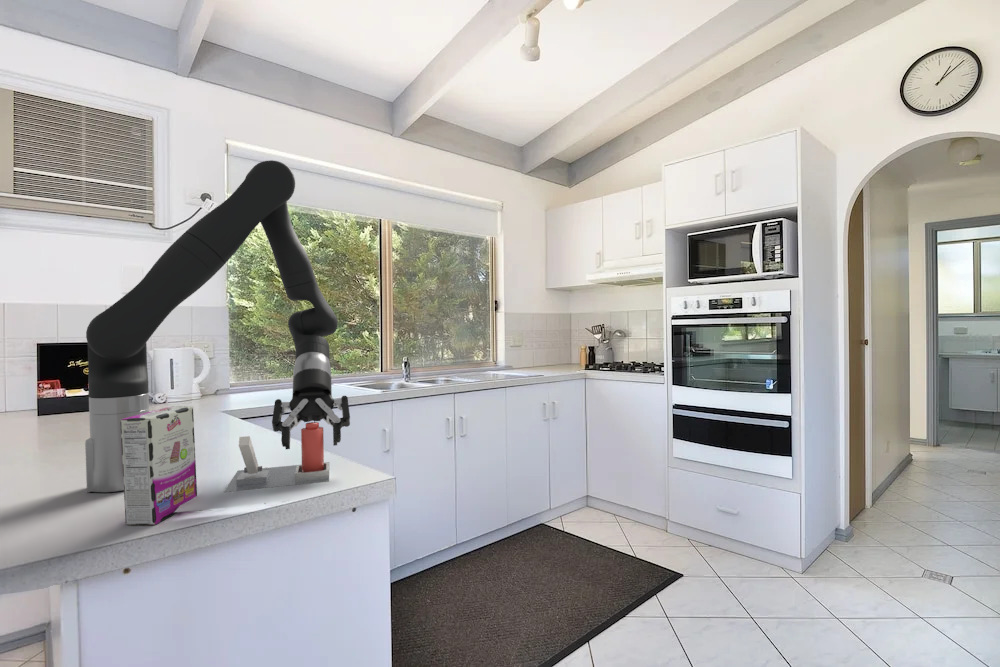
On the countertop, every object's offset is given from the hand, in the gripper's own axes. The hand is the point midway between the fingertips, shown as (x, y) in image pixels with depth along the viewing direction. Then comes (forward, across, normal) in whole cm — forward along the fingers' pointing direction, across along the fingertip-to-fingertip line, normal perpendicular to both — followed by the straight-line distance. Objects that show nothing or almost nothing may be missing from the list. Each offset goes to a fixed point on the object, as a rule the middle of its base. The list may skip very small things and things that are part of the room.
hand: (311, 445), depth 100 cm
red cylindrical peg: (+3, 0, +5) cm, 6 cm away
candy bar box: (+11, -22, -1) cm, 25 cm away
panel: (+3, -6, +8) cm, 10 cm away
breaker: (+1, -10, +5) cm, 12 cm away
